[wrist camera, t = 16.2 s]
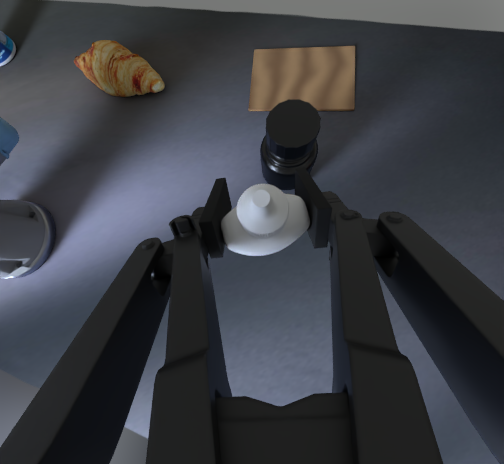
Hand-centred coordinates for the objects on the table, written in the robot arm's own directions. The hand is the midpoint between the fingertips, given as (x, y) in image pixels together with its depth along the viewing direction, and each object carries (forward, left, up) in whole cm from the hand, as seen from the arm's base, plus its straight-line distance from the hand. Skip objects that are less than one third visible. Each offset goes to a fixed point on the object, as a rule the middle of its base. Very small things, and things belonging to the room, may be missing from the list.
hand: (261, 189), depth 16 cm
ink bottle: (+3, +11, -19) cm, 22 cm away
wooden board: (+5, +30, -19) cm, 36 cm away
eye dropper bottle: (+1, -4, -4) cm, 5 cm away
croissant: (-33, +30, -19) cm, 49 cm away
